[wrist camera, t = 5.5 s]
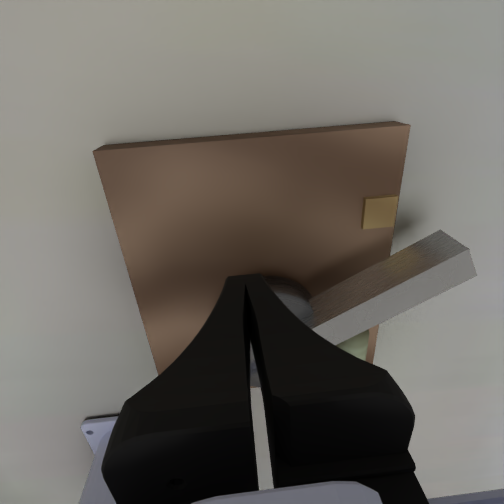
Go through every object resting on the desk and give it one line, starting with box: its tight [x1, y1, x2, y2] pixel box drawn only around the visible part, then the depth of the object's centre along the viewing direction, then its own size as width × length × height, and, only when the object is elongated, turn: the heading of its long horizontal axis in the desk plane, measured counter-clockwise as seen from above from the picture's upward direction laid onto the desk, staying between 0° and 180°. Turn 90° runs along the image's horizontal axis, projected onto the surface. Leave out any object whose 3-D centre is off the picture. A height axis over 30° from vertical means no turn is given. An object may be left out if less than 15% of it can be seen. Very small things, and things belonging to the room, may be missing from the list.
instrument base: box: [93, 121, 410, 388], centre depth 18 cm, size 16×14×3 cm
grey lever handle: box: [250, 230, 477, 387], centre depth 16 cm, size 13×6×3 cm, turn 122°
